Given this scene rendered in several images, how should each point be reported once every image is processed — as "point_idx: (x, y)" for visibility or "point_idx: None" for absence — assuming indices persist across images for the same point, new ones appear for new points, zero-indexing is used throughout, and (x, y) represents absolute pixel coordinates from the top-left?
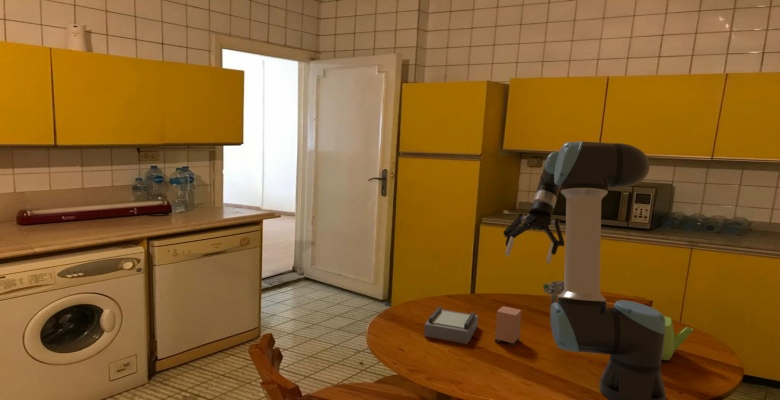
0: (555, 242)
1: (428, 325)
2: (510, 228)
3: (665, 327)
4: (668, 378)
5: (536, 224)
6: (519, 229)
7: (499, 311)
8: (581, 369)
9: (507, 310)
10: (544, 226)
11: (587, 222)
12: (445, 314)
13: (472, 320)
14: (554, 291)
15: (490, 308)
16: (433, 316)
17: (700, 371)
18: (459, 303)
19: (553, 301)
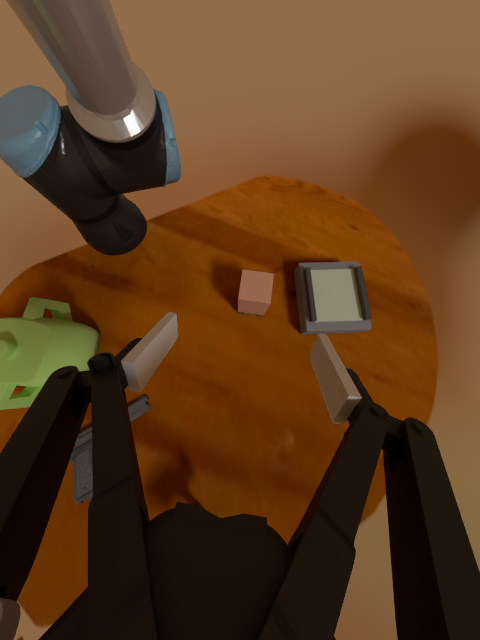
0: (108, 357)
1: (352, 262)
2: (417, 465)
3: (1, 318)
4: (67, 282)
5: (215, 548)
6: (345, 457)
7: (269, 274)
8: (161, 262)
9: (259, 285)
10: (130, 493)
11: None
12: (350, 306)
13: (307, 305)
14: None
15: (306, 434)
16: (358, 274)
17: None
18: None
19: None
